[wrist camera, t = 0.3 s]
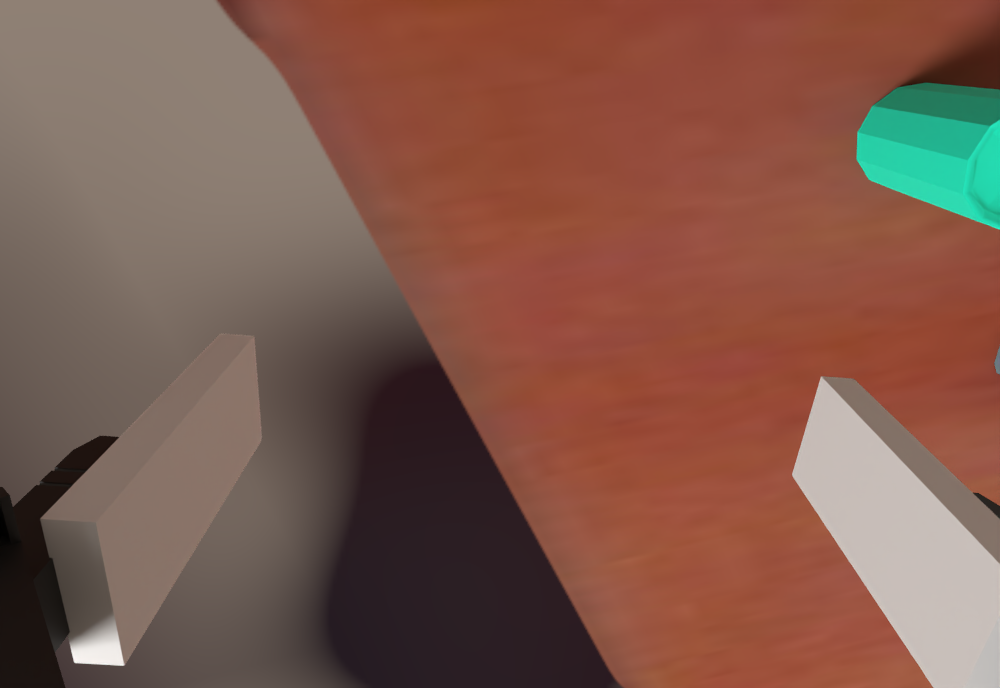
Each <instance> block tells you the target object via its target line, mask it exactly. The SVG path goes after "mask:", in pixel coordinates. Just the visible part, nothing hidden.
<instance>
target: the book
mask: <svg viewBox="0 0 1000 688" xmlns="http://www.w3.org/2000/svg"><path fill="white" fill-rule="evenodd" d="M994 364H995V368H996V372H997V373H998V374H1000V347H999V350H998V354H997V357H996V360H995V363H994Z"/></svg>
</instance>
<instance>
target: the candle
mask: <svg viewBox="0 0 1000 688" xmlns="http://www.w3.org/2000/svg"><path fill="white" fill-rule="evenodd" d="M857 161H858V162H859V164H860V166H861V167H862V169H863V171H864V172H865V174H866V176H867V177H868V179H869V180H871V181H873V182H876V183H878V184H881V185H883V186H886V187H888V188H890V189H893V190H896V191H898V192H901V193H904V194H906V195H909V196H912V197H914V198H917V199H920V200H922V201H925V202H928V203H930V204H933V205H936V206H938V207H941V208H944V209H946V210H949V211H952V212H954V213H957V214H959V215H962V216H965V217H967V218H970V219H973V220H975V221H978V222H981V223H983V224H986V225H989V226H991V227H994V228H997V229H999V230H1000V90H999V89H988V88H978V87H967V86H956V85H946V84H935V83H920V84H915V85H909V86H903V87H898V88H896V89H895V90H893V91H892V92H891V93H889V94H888V95H887V96H885V97H884V98H883V99H881V100H880V101H878V102H877V103H876V104H874V105H873V106H872V108H871V109H870V111H869V113H868V115H867V117H866V118H865V120H864V122H863V124H862V126H861V127H860V129H859V131H858V137H857Z"/></svg>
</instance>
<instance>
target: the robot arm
mask: <svg viewBox="0 0 1000 688" xmlns="http://www.w3.org/2000/svg"><path fill="white" fill-rule="evenodd" d="M261 440H262V433H261V421H260V406H259V392H258V379H257V365H256V352H255V339H254V336H249V335H236V334H220V335H218V337H217V338H216V339H215V340H214V341H213V342H212V343H211V344H210V345H209V346H208V347H207V348H206V349H205V350H204V351H203V352H202V353H201V354H200V355H199V356H198V357H197V358H196V359H195V360H194V361H193V362H192V363H191V364H190V365H189V366H188V367H187V368H186V370H184V371H183V372H182V373H181V375H180V376H179V377H178V378H177V379H176V380H175V381H174V382H173V383H172V384H171V385H170V386H169V387H168V388H167V389H166V390H165V391H164V392H163V393H162V394H161V395H160V396H159V397H158V398H157V399H156V400H155V401H154V402H153V403H152V404H151V405H150V406H149V407H148V408H147V409H146V411H145V412H144V413H143V414H142V415H141V416H140V417H139V418H138V419H137V420H136V421H135V422H134V423H133V424H132V425H131V426H130V427H129V428H128V429H127V430H126V431H125V432H124V433H123V434H122V435H121V436H120V437H111V436H99V437H97V438H95V439H93V440H91V441H90V442H88V443H86V444H84V445H82V446H80V447H78V448H76V449H74V450H73V451H72V452H71V453H70V454H69V455H67V456H66V457H65V458H64V459H63V460H62V461H61V462H60V463H59V464H58V465H57V466H56V467H55V471H51V472H50V473H49V474H48V475H46V476H45V477H44V478H43V479H42V480H41V481H40V485H36V486H35V487H34V488H33V489H32V490H31V491H30V492H29V493H27V494H26V495H25V496H24V497H23V498H22V499H21V500H20V501H19V502H18V503H17V504H16V505H15V506H14V507H12V503H11V499H10V495H9V494H8V493H7V492H6V491H5V489H4V488H3V487H0V688H65V685H64V682H63V678H62V675H61V672H60V669H59V665H58V662H57V658H56V655H55V652H56V650H57V649H58V648H59V646H60V645H61V644H62V642H63V641H64V640H65V638H66V636H67V635H68V638H69V642H70V646H71V651H72V655H73V659H74V663H88V664H104V665H121V666H124V665H125V664H126V662H127V660H128V658H129V657H130V655H131V654H132V652H133V651H134V649H135V647H136V646H137V644H138V642H139V641H140V639H141V637H142V636H143V634H144V632H145V631H146V629H147V627H148V626H149V624H150V622H151V621H152V619H153V618H154V616H155V614H156V613H157V611H158V609H159V608H160V606H161V605H162V603H163V601H164V600H165V598H166V596H167V595H168V593H169V591H170V590H171V588H172V586H173V585H174V583H175V581H176V580H177V578H178V577H179V575H180V573H181V572H182V570H183V568H184V567H185V565H186V563H187V562H188V560H189V559H190V557H191V555H192V554H193V552H194V550H195V549H196V547H197V545H198V544H199V542H200V540H201V539H202V537H203V535H204V534H205V532H206V530H207V529H208V527H209V526H210V524H211V522H212V521H213V519H214V517H215V516H216V514H217V513H218V511H219V509H220V508H221V506H222V504H223V502H224V501H225V499H226V498H227V496H228V494H229V493H230V491H231V489H232V488H233V486H234V485H235V482H236V481H237V480H238V478H239V476H240V475H241V473H242V471H243V470H244V468H245V466H246V465H247V463H248V461H249V460H250V458H251V457H252V455H253V453H254V452H255V450H256V448H257V447H258V445H259V443H260V442H261ZM792 476H793V478H794V479H795V481H796V482H797V484H798V485H799V487H800V488H801V490H802V491H803V493H804V494H805V496H806V497H807V499H808V500H809V502H810V503H811V505H812V506H813V508H814V509H815V511H816V512H817V514H818V515H819V517H820V518H821V520H822V521H823V523H824V524H825V526H826V527H827V529H828V530H829V532H830V533H831V535H832V536H833V538H834V539H835V541H836V542H837V544H838V545H839V547H840V548H841V550H842V551H843V553H844V554H845V556H846V557H847V559H848V560H849V562H850V563H851V565H852V566H853V568H854V569H855V571H856V572H857V574H858V575H859V577H860V578H861V580H862V581H863V583H864V584H865V586H866V587H867V589H868V590H869V592H870V593H871V595H872V596H873V598H874V599H875V601H876V602H877V604H878V605H879V607H880V608H881V610H882V611H883V613H884V614H885V616H886V617H887V619H888V620H889V622H890V623H891V625H892V626H893V628H894V629H895V631H896V632H897V634H898V635H899V637H900V638H901V640H902V641H903V643H904V644H905V646H906V647H907V649H908V650H909V652H910V653H911V655H912V656H913V658H914V659H915V661H916V662H917V664H918V665H919V667H920V668H921V670H922V671H923V673H924V674H925V676H926V677H927V679H928V680H929V682H930V683H931V685H932V686H933V688H1000V506H999V505H997V504H995V503H994V502H992V501H990V500H989V499H987V498H986V497H984V496H982V495H981V494H979V493H972V492H971V491H970V490H969V489H968V488H967V487H966V486H965V485H964V484H963V483H962V482H961V481H960V480H959V479H957V478H956V477H955V476H954V475H953V474H952V473H951V472H950V471H949V470H948V469H947V468H946V467H945V466H944V465H943V464H942V463H941V462H940V461H939V460H938V459H937V458H936V457H935V456H934V455H933V454H931V453H930V452H929V451H928V450H927V449H926V448H925V447H924V446H923V445H922V444H921V443H920V442H919V441H918V440H917V439H916V438H915V437H914V436H913V435H912V434H911V433H910V432H909V431H908V430H906V429H905V428H904V427H903V426H902V425H901V424H900V423H899V422H898V421H897V420H896V419H895V418H894V417H893V416H892V415H891V414H890V413H889V412H888V411H887V410H886V409H885V408H884V407H883V406H881V405H880V404H879V403H878V402H877V401H876V400H875V399H874V398H873V397H872V396H871V395H870V394H869V393H868V392H867V391H866V390H865V389H864V388H863V387H862V386H861V385H860V384H859V383H858V382H856V381H855V380H854V379H850V378H836V377H822V376H821V379H820V382H819V386H818V389H817V393H816V396H815V399H814V403H813V406H812V410H811V413H810V416H809V420H808V423H807V426H806V430H805V433H804V437H803V440H802V443H801V447H800V450H799V453H798V457H797V460H796V464H795V467H794V470H793V474H792Z"/></svg>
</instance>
